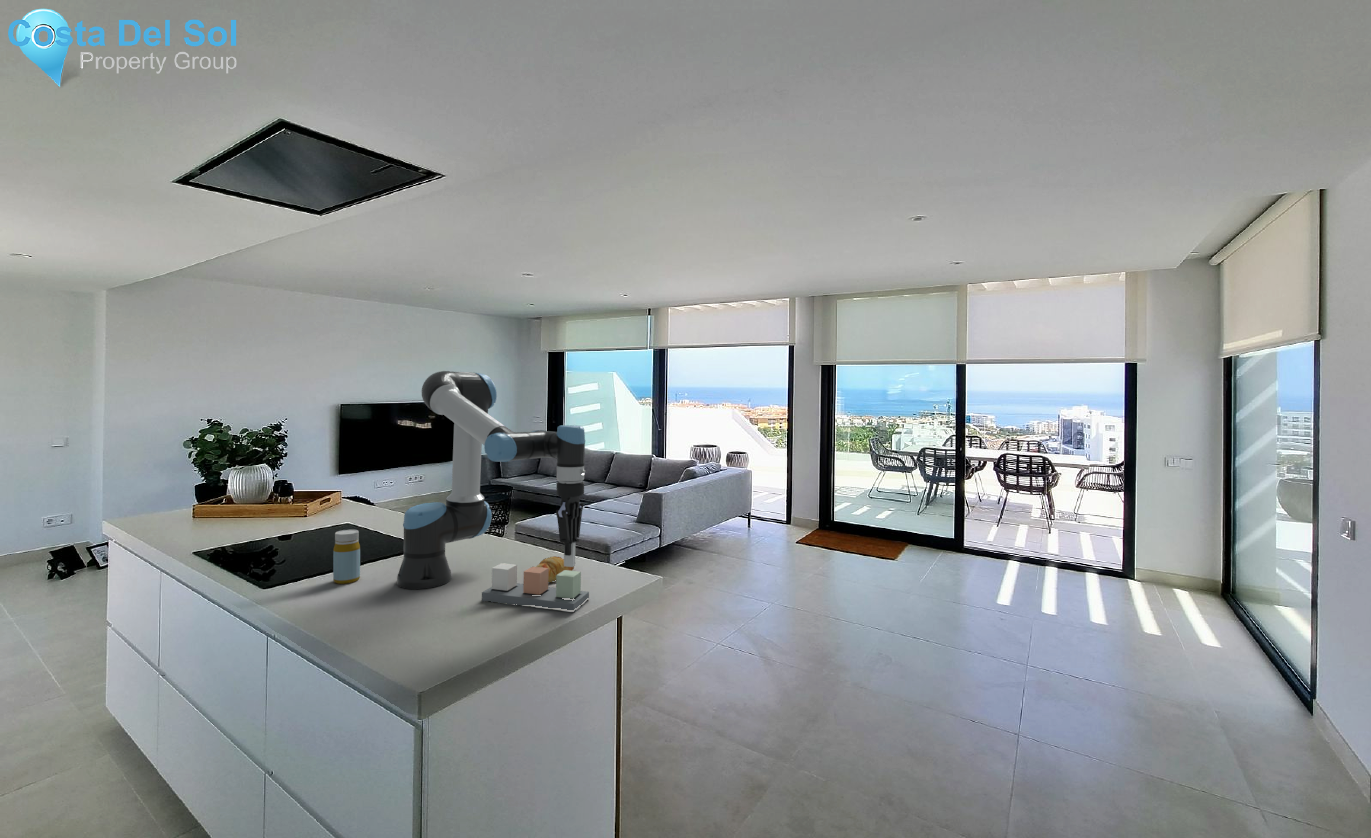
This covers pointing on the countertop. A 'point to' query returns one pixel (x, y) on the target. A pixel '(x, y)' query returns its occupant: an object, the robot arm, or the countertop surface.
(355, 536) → the bottle
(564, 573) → the key sage
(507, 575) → the key white
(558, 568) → the croissant
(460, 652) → the countertop surface
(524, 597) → the grey slotted tray
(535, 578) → the key terracotta
